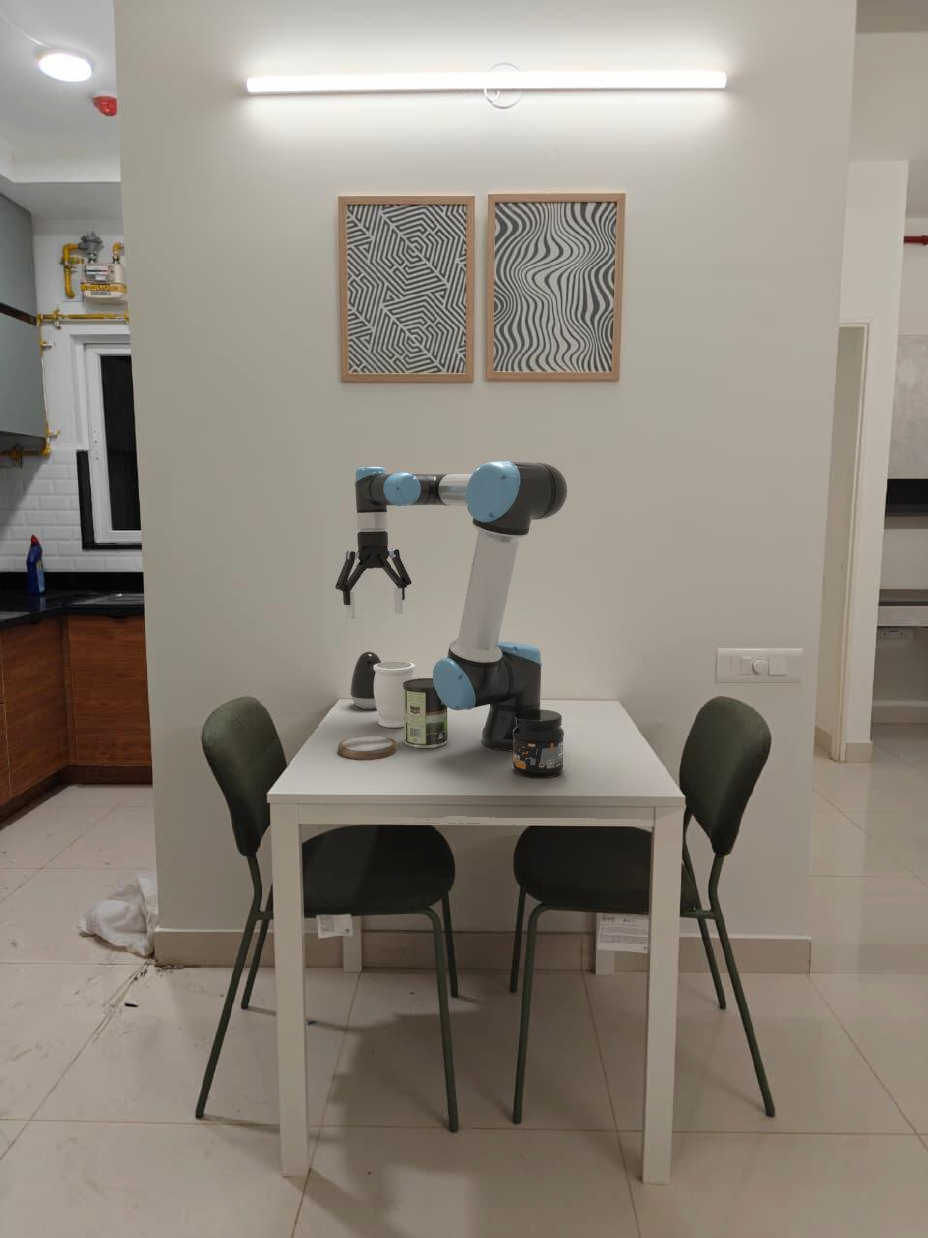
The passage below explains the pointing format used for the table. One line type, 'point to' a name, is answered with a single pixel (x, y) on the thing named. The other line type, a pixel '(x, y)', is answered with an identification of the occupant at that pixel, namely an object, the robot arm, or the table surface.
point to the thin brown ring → (367, 747)
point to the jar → (391, 691)
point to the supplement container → (538, 743)
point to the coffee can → (424, 715)
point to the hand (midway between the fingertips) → (375, 616)
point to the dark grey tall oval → (364, 681)
